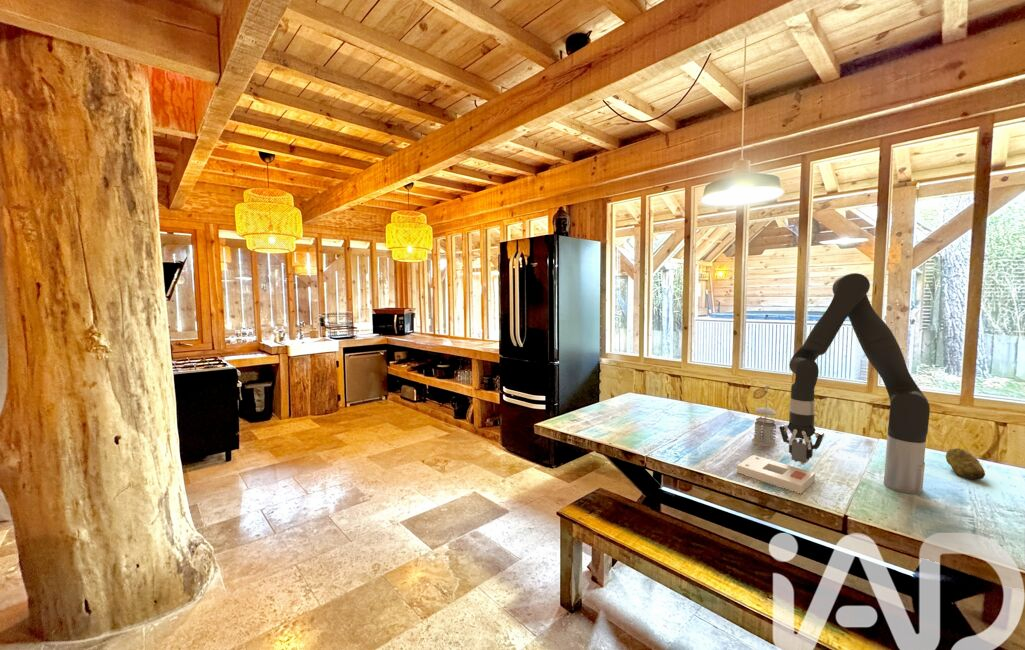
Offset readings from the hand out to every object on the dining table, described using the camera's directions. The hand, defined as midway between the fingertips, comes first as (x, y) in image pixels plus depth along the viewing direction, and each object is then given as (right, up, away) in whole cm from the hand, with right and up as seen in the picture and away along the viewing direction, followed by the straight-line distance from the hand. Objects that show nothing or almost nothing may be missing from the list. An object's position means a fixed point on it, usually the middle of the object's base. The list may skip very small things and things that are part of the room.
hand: (800, 456), depth 151 cm
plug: (0, -2, 0) cm, 2 cm away
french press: (+3, -3, +26) cm, 27 cm away
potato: (+56, -5, -4) cm, 56 cm away
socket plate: (-13, -6, -5) cm, 15 cm away
